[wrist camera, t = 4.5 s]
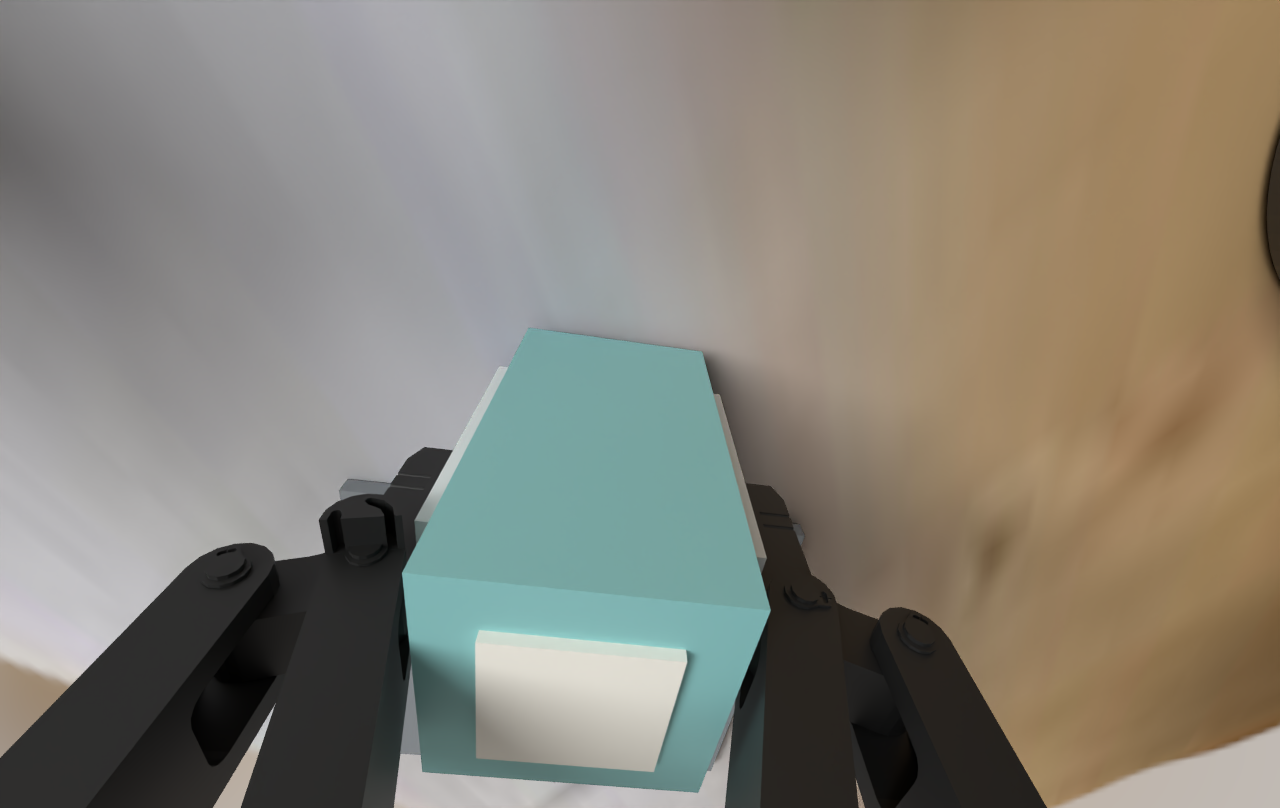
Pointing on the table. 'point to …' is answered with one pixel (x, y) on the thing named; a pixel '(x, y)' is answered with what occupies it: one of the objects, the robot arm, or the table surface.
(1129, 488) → the table surface
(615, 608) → the block
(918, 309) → the table surface
